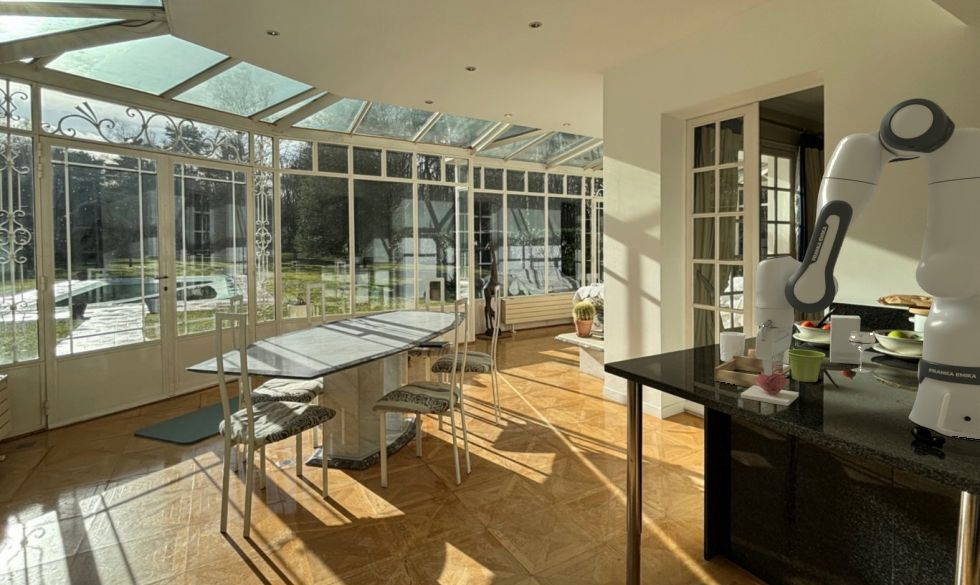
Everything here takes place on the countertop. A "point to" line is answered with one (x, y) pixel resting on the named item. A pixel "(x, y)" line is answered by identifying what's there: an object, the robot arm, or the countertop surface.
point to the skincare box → (843, 339)
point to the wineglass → (861, 344)
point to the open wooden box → (742, 363)
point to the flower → (771, 382)
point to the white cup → (731, 345)
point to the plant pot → (805, 364)
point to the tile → (770, 396)
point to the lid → (786, 367)
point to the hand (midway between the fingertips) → (773, 371)
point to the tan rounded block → (752, 353)
